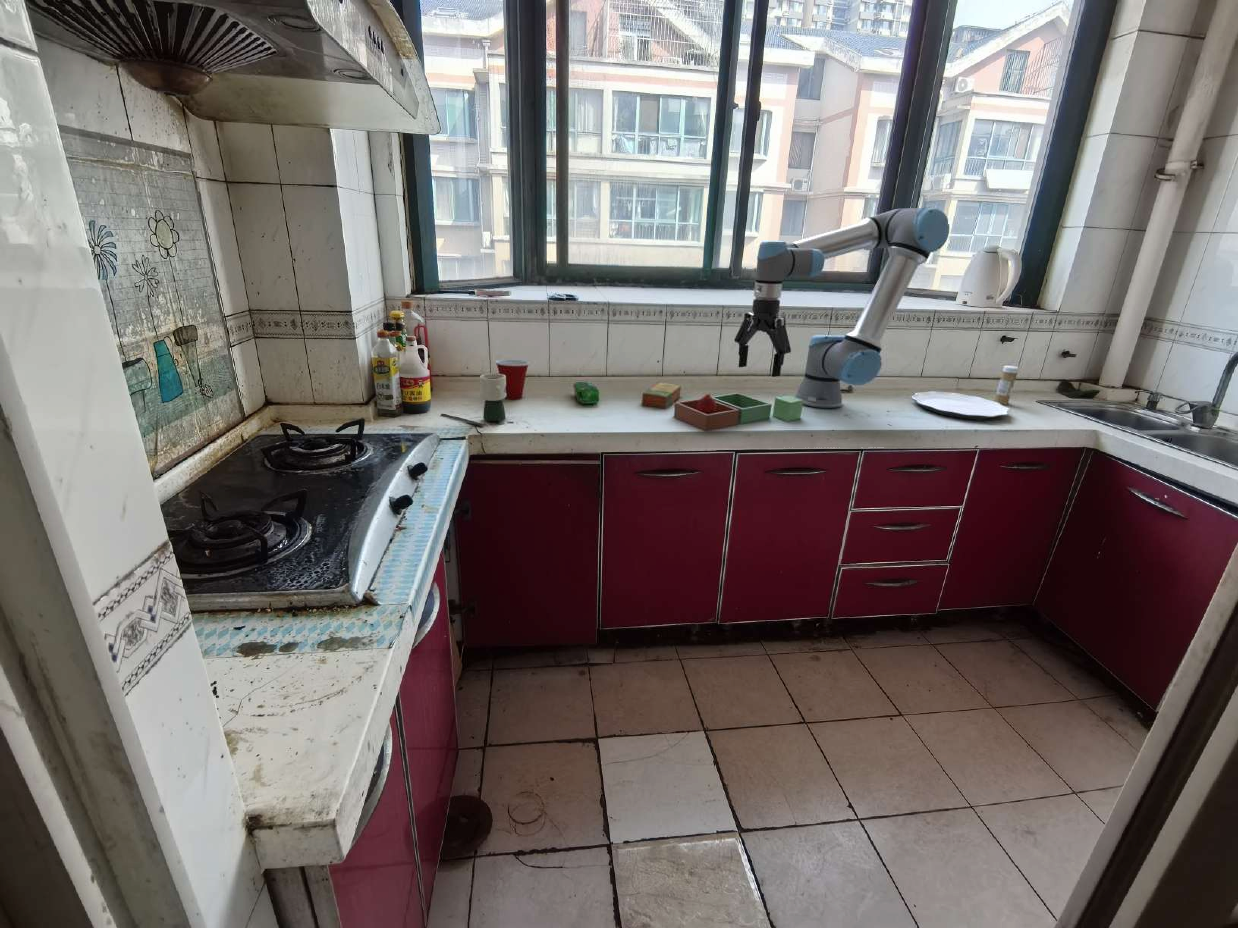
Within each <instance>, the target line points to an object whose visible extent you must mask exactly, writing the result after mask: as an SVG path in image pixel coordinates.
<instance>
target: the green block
mask: <svg viewBox="0 0 1238 928" xmlns="http://www.w3.org/2000/svg"><path fill="white" fill-rule="evenodd" d="M802 409H803V400H801V399H798V398H795V397H794V396H791V395H784V396H777V397H775V398H774V404H773V409H772V410H773V411H772V417H774V418H777V419H780V420H783V421H785V422H791V421H796V420H800V419H801V416H802Z"/></svg>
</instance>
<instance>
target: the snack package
mask: <svg viewBox="0 0 1238 928" xmlns="http://www.w3.org/2000/svg"><path fill="white" fill-rule="evenodd" d="M572 387H573V390H574V391H573V393H574V394H575V396H576V399H577V401H578V403H581V404H583V405H594V404H597V403H598V402H599V401H600V391H599V389H598V386H597V385H596V383H594V382H592V381H576V382H574V384H573V385H572Z"/></svg>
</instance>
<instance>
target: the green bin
mask: <svg viewBox="0 0 1238 928" xmlns="http://www.w3.org/2000/svg"><path fill="white" fill-rule="evenodd" d="M711 397H712V398H713V399H714V400H715V401H716V402H719V403H722V404H724V405H727V406H730V407H732V408H735V409H738V410H739V414H738V422H737V424H739V425H742V424H748V423H752V422H758V421H762V420H767V419H770V417H771V412H772V403H770V402H766V401H763V400H761V399H758V398H755V397H752V396H749V395H746V394H743V393H740V392H734V393H727V394H721V395H714V396H711Z"/></svg>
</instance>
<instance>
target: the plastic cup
mask: <svg viewBox="0 0 1238 928" xmlns="http://www.w3.org/2000/svg"><path fill="white" fill-rule="evenodd" d="M494 362H495V364H496V367H497V371H498V374H503V375H505V376H506V397H505V398H504V399H507V400H520V399H522V398H523V395H524V388H525V383H526V375H527V371H528V368H529V365H530V362H529V361H528V360H521V359H498V360H495V361H494Z"/></svg>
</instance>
